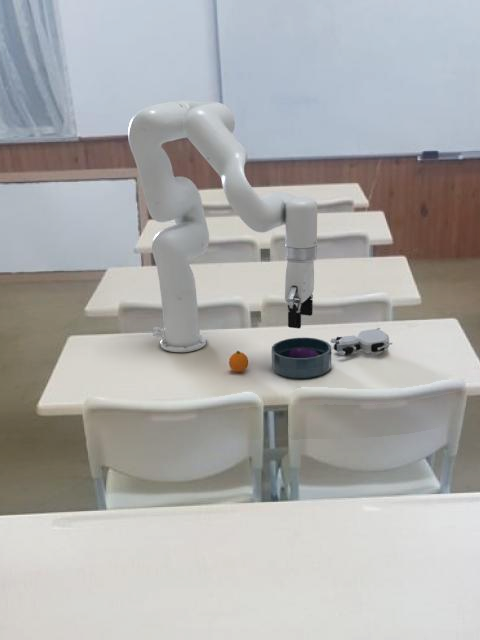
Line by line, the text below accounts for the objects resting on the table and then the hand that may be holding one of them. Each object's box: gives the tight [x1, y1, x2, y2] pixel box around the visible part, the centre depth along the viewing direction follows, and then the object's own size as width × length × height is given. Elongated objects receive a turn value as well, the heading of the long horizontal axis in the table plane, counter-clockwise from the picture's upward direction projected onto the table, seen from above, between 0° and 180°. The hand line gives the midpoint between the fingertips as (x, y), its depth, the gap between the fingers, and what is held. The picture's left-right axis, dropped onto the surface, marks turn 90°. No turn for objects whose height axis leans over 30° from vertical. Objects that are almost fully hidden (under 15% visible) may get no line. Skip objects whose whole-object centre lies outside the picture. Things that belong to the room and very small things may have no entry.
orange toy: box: [228, 350, 249, 373], centre depth 216 cm, size 5×5×6 cm
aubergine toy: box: [288, 348, 319, 358], centre depth 218 cm, size 9×4×4 cm, turn 72°
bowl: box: [271, 337, 332, 380], centre depth 217 cm, size 15×15×6 cm
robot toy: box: [330, 327, 393, 357], centre depth 226 cm, size 12×4×15 cm
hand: (300, 321), depth 213 cm, fingers open, 9 cm apart
